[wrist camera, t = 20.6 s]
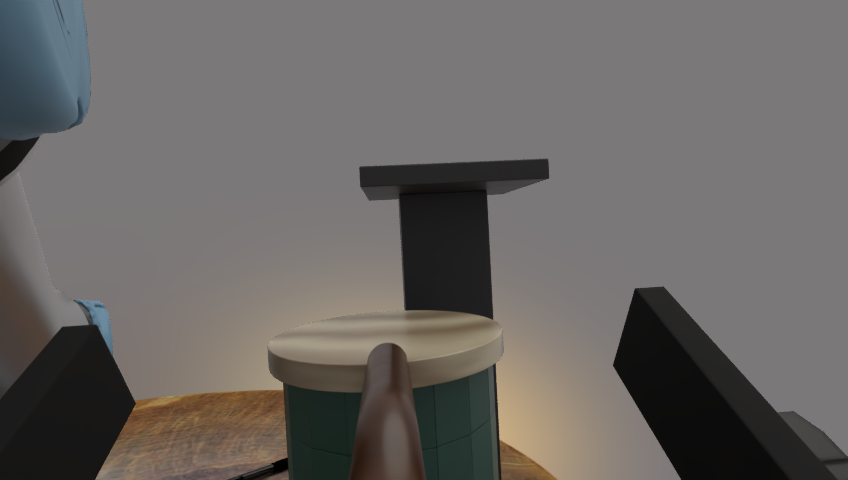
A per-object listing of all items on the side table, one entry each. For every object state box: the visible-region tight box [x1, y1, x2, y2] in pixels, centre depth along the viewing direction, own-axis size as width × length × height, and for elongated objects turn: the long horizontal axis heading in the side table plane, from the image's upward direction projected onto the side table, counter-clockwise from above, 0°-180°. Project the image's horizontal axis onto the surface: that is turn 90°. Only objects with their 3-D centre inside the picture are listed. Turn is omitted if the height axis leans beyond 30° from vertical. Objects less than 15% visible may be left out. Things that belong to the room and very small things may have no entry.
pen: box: [228, 458, 288, 480], centre depth 52 cm, size 14×2×1 cm
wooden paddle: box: [268, 310, 504, 480], centre depth 19 cm, size 24×13×2 cm, turn 5°
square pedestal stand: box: [359, 159, 549, 480], centre depth 41 cm, size 14×14×32 cm
